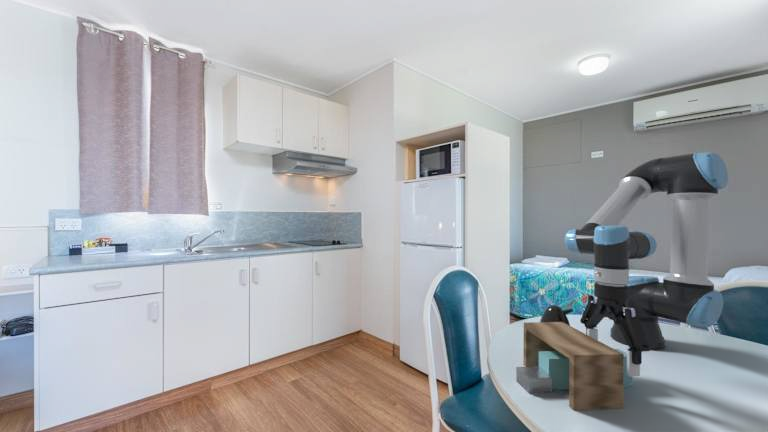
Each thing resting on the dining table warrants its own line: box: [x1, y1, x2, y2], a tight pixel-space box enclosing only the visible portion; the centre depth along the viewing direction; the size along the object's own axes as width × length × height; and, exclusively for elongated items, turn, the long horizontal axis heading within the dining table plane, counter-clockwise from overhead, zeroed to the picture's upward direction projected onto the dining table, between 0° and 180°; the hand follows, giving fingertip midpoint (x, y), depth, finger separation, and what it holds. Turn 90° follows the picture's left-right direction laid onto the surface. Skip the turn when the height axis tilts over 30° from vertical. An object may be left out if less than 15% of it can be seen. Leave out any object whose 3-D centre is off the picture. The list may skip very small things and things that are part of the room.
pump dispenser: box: [539, 304, 574, 326], centre depth 102 cm, size 10×10×15 cm
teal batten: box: [539, 348, 633, 390], centre depth 83 cm, size 23×4×8 cm, turn 95°
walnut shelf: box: [523, 321, 624, 411], centre depth 83 cm, size 12×22×12 cm, turn 4°
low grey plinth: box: [515, 366, 553, 395], centre depth 81 cm, size 6×6×4 cm
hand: (611, 362), depth 84 cm, fingers open, 13 cm apart
